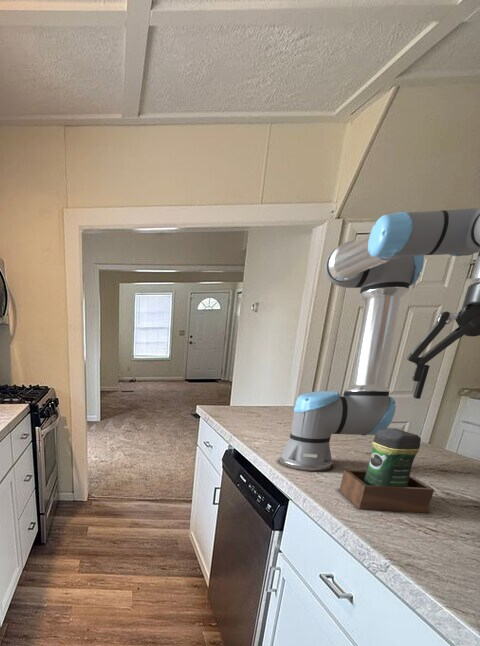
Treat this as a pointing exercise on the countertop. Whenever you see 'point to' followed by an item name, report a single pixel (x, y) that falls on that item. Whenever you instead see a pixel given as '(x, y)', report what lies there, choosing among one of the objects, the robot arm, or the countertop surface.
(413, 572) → the countertop surface
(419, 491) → the holder
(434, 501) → the countertop surface
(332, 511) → the countertop surface
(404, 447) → the coffee jar
